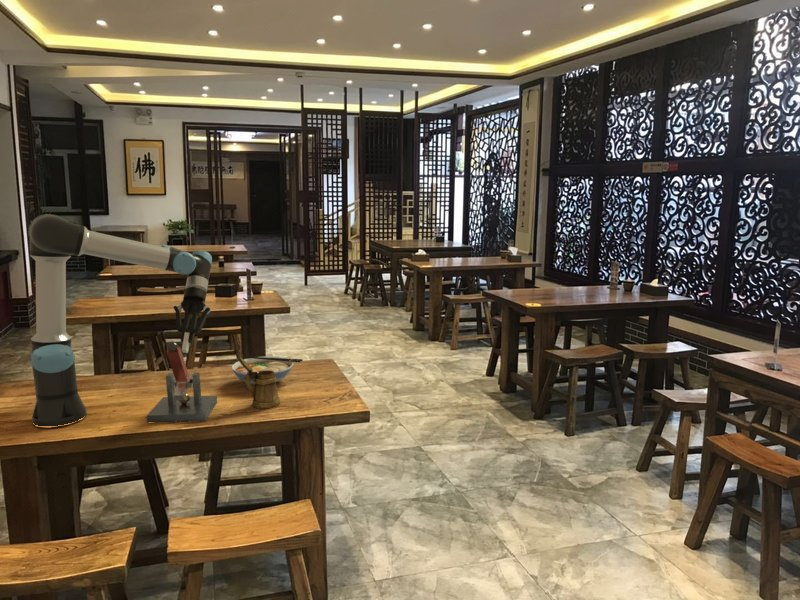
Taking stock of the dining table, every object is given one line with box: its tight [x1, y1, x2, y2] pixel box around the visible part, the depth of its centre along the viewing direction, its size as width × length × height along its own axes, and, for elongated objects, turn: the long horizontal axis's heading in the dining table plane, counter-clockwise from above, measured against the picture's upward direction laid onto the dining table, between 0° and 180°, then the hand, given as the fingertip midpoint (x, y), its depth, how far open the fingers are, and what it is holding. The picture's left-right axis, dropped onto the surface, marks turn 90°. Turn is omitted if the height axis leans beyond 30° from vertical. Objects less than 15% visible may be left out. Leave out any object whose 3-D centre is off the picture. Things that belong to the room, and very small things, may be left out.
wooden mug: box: [236, 355, 281, 410], centre depth 207 cm, size 9×14×18 cm, turn 105°
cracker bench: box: [146, 371, 218, 423], centre depth 201 cm, size 18×17×12 cm
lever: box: [166, 341, 193, 400], centre depth 195 cm, size 6×8×20 cm
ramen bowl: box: [231, 355, 303, 386], centre depth 231 cm, size 25×23×8 cm
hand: (184, 351), depth 211 cm, fingers closed
